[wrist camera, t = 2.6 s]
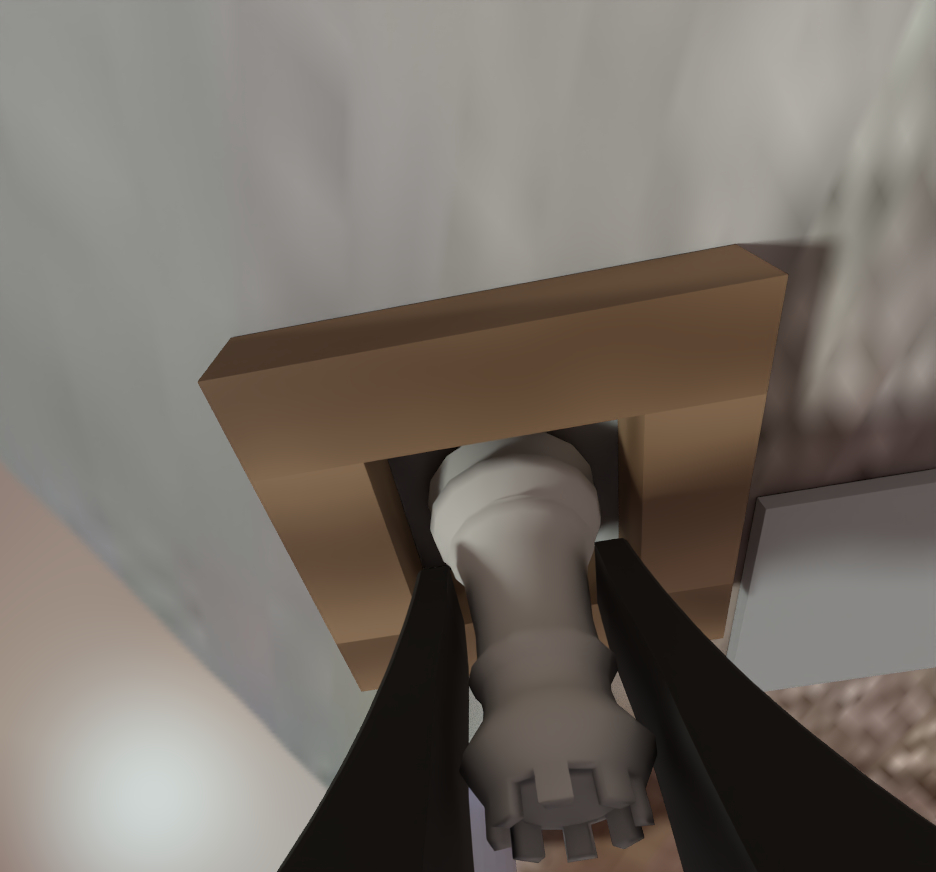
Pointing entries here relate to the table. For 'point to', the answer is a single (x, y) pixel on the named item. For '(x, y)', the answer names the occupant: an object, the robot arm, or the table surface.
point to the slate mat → (839, 583)
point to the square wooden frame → (510, 423)
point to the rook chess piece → (538, 649)
